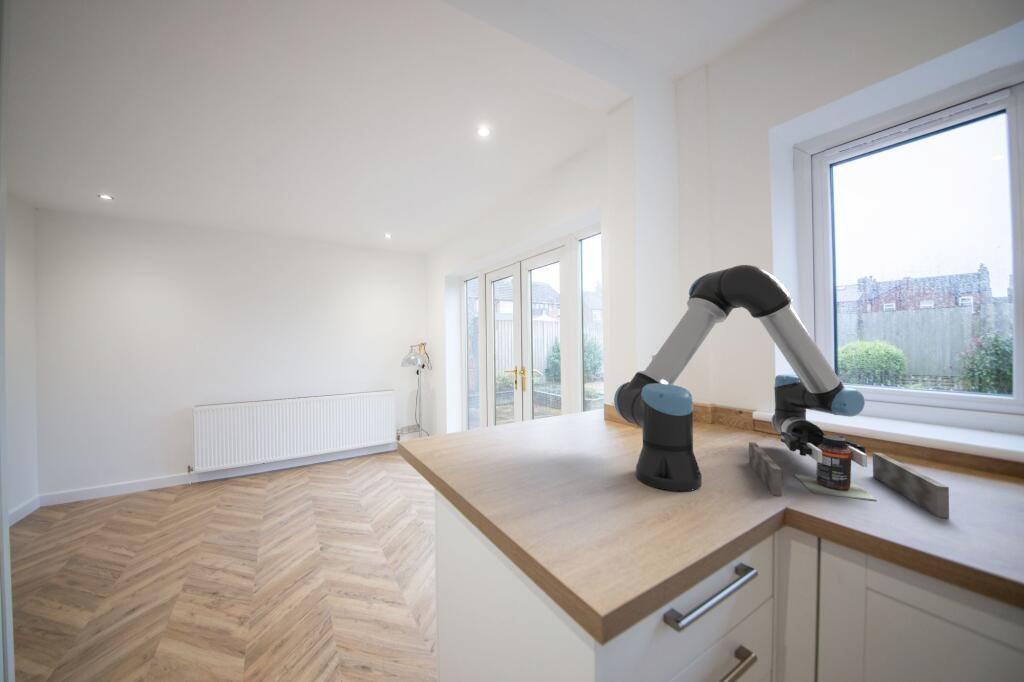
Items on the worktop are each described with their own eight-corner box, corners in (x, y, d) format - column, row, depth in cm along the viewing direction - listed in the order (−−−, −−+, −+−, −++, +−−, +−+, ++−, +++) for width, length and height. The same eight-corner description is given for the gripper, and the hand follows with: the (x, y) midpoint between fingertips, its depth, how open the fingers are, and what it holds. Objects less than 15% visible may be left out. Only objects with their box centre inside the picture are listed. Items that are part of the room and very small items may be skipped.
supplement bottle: (835, 481, 85) (838, 434, 84) (857, 491, 79) (860, 442, 78) (809, 479, 85) (811, 433, 85) (829, 489, 79) (831, 440, 79)
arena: (749, 463, 98) (748, 441, 98) (881, 477, 88) (881, 453, 88) (772, 494, 78) (772, 468, 78) (949, 518, 67) (948, 487, 67)
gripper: (848, 450, 95) (902, 482, 73) (760, 442, 102) (787, 469, 81) (847, 422, 95) (902, 446, 74) (760, 417, 102) (786, 437, 81)
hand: (841, 458), depth 77 cm, fingers open, 7 cm apart
